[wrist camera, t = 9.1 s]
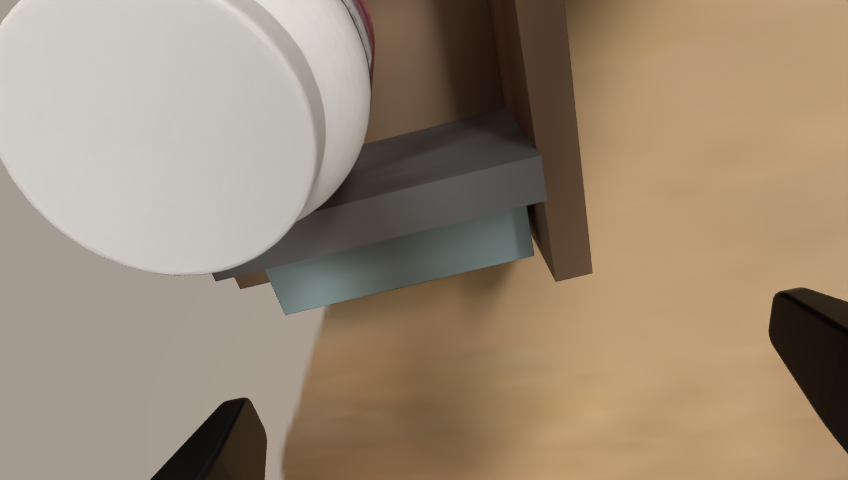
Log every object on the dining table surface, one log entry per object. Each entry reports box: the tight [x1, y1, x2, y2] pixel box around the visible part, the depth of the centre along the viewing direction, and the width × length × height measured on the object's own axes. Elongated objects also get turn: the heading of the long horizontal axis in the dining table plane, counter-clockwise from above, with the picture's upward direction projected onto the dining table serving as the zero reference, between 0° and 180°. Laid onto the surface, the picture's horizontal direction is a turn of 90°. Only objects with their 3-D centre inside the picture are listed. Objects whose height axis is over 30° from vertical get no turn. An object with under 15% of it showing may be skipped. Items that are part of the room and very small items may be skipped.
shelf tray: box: [212, 0, 592, 315], centre depth 17 cm, size 13×14×6 cm
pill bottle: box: [0, 0, 375, 276], centre depth 13 cm, size 6×6×11 cm
